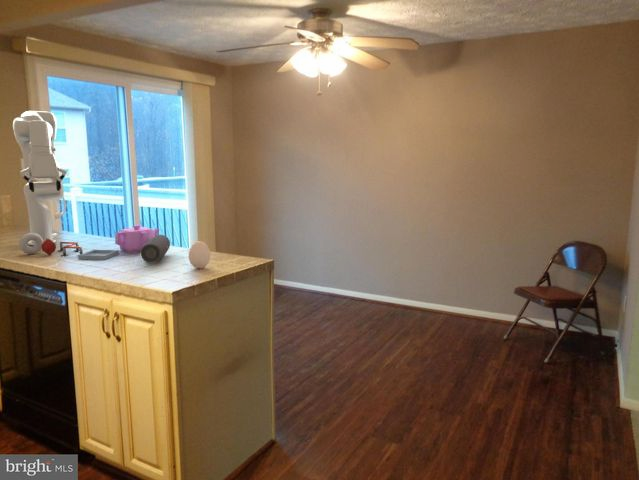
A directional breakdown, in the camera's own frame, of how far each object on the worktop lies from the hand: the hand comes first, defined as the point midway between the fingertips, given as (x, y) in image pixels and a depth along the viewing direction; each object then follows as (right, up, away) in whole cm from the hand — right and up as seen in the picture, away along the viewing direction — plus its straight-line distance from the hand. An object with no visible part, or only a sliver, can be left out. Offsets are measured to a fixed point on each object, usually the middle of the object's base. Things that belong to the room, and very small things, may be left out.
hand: (45, 191), depth 198 cm
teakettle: (+29, -26, +28) cm, 48 cm away
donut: (-16, -28, +17) cm, 36 cm away
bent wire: (+1, -27, +18) cm, 33 cm away
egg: (+68, -33, -7) cm, 76 cm away
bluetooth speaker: (+45, -30, +7) cm, 55 cm away
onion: (-7, -28, +15) cm, 33 cm away
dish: (+17, -29, +12) cm, 36 cm away
